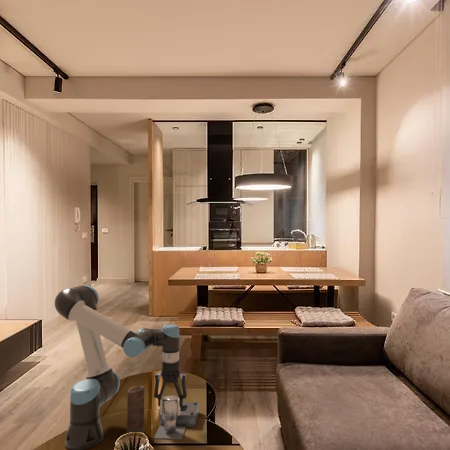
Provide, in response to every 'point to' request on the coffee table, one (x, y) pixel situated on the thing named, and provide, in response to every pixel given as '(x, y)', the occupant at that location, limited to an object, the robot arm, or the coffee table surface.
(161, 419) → the housing
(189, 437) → the coffee table surface
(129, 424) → the candle
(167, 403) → the silver stepped plug
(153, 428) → the coffee table surface
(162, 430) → the mat
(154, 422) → the coffee table surface
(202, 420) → the coffee table surface
